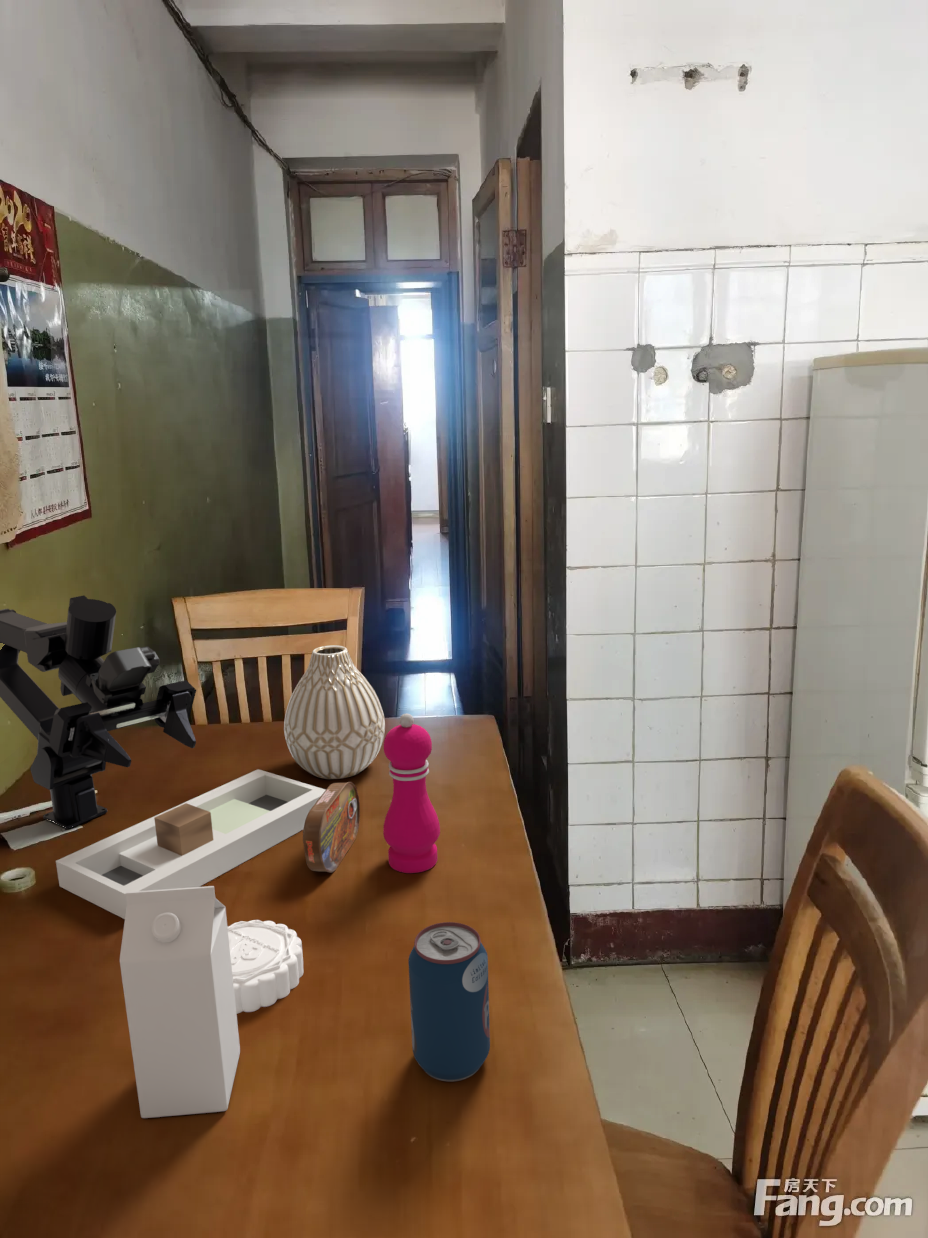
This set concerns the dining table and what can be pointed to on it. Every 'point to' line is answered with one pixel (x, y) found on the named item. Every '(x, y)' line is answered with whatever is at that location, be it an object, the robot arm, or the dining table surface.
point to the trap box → (241, 830)
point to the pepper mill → (410, 800)
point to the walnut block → (184, 829)
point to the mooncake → (263, 963)
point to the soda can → (449, 1001)
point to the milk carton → (179, 1000)
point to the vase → (333, 717)
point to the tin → (331, 827)
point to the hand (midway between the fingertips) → (163, 754)
